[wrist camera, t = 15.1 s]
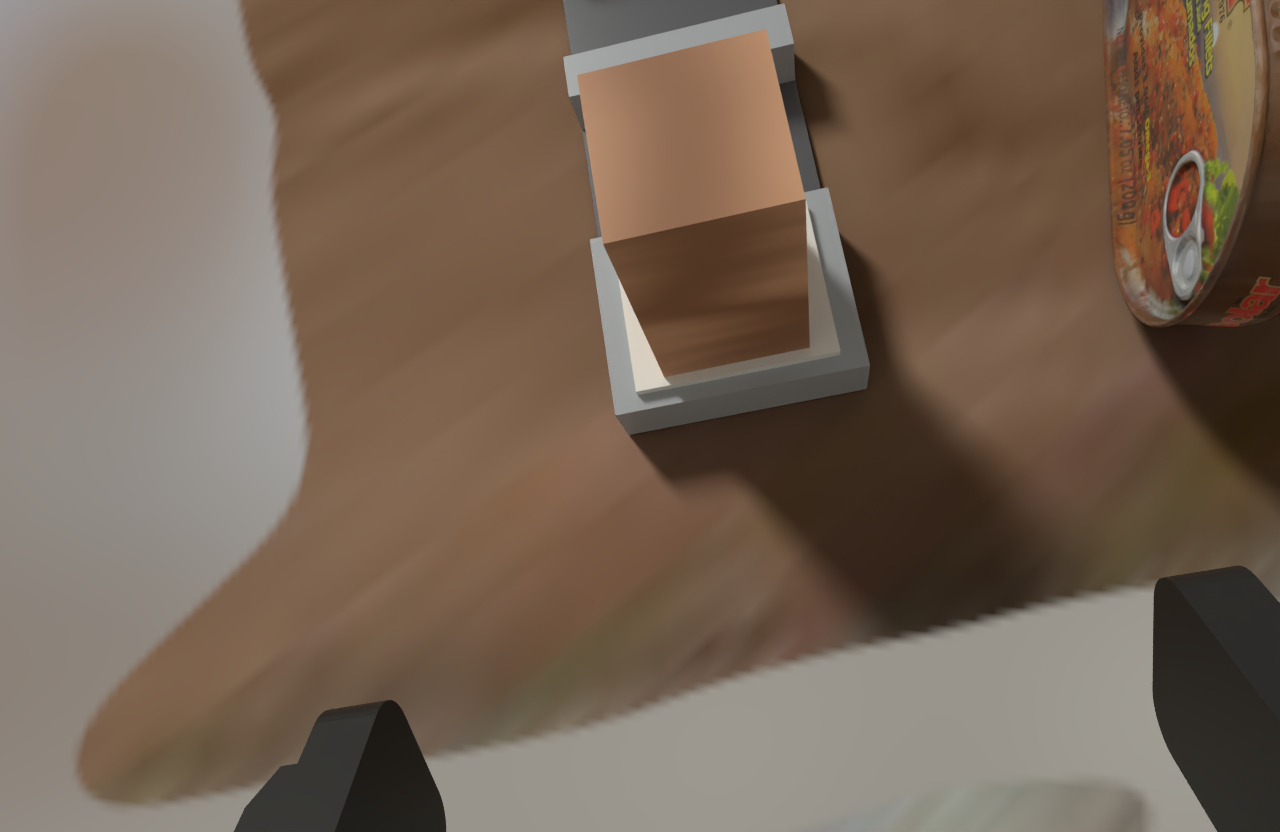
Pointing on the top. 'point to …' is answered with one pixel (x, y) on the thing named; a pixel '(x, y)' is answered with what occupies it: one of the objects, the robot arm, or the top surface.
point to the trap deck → (837, 358)
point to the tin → (1195, 158)
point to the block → (701, 201)
